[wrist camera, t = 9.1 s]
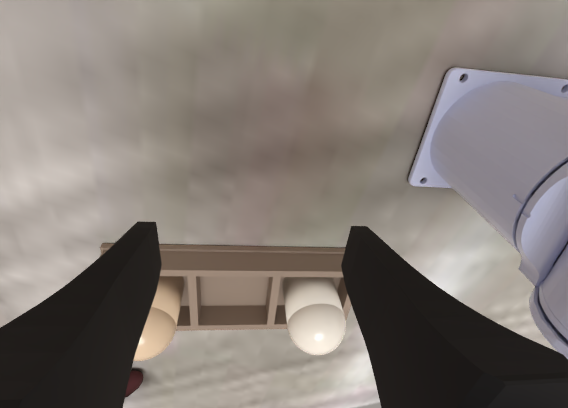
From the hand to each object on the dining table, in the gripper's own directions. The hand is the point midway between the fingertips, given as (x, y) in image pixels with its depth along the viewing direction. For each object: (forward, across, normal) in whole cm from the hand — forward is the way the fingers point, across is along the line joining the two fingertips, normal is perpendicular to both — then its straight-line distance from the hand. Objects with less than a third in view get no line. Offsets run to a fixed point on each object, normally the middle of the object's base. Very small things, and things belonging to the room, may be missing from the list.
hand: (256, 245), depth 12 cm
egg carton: (+10, +1, +12) cm, 16 cm away
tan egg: (+10, +7, +12) cm, 17 cm away
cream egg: (+10, -5, +13) cm, 17 cm away
